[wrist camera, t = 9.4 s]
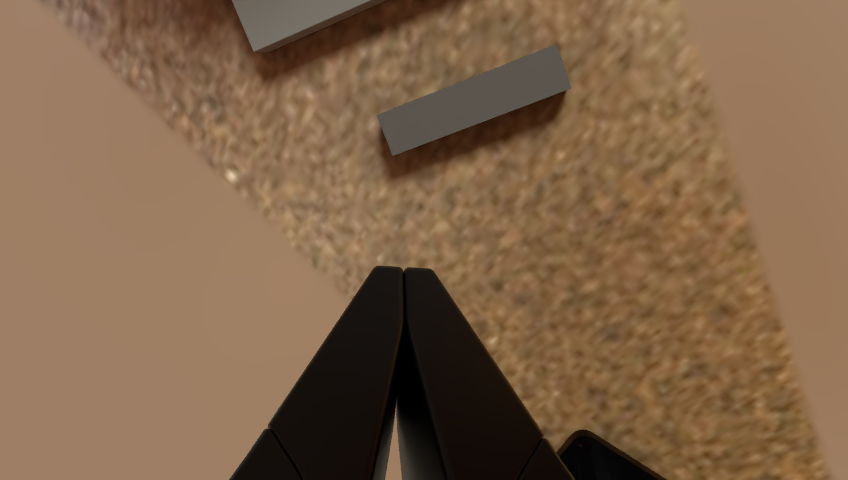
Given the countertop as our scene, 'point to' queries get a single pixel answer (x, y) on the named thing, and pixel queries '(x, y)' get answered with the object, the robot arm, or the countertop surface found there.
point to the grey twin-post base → (292, 18)
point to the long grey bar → (475, 100)
